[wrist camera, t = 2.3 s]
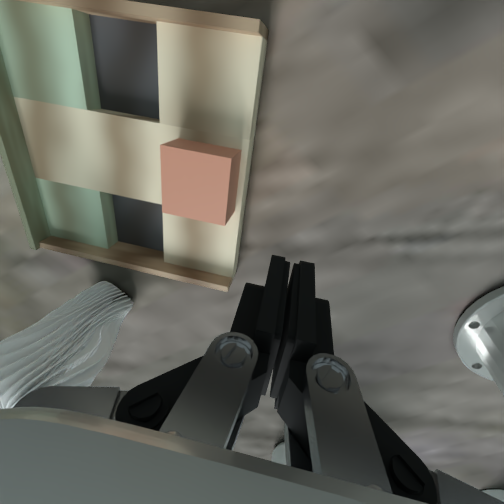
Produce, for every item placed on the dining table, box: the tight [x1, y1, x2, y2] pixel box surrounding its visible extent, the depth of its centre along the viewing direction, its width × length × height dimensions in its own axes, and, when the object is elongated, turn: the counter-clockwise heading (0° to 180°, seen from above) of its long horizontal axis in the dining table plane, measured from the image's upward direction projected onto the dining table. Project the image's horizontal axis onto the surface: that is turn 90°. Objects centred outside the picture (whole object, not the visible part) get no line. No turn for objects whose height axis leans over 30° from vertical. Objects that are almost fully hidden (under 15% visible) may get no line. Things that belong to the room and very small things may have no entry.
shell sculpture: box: [0, 281, 134, 409], centre depth 27 cm, size 8×8×18 cm
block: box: [160, 138, 242, 226], centre depth 21 cm, size 5×5×3 cm
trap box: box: [0, 0, 269, 292], centre depth 23 cm, size 20×20×4 cm
